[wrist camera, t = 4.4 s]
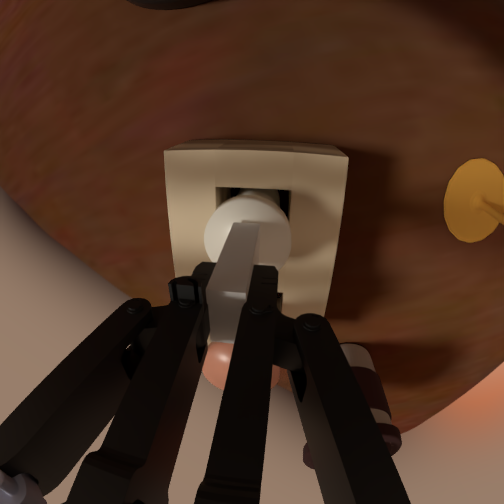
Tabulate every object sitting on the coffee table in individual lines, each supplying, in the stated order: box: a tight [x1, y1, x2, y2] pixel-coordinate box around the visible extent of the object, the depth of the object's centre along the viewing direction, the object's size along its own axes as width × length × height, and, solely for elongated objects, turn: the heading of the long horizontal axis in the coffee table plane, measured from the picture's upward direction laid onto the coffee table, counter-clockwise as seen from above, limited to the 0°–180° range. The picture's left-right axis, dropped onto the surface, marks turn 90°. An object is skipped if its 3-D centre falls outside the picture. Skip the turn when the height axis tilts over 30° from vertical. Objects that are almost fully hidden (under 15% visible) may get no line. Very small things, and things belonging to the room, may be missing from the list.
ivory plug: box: [204, 188, 291, 270], centre depth 21 cm, size 5×5×8 cm
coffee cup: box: [303, 344, 402, 469], centre depth 27 cm, size 10×10×15 cm
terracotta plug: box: [202, 341, 280, 390], centre depth 22 cm, size 5×5×8 cm
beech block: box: [164, 140, 349, 345], centre depth 25 cm, size 18×12×6 cm, turn 179°
